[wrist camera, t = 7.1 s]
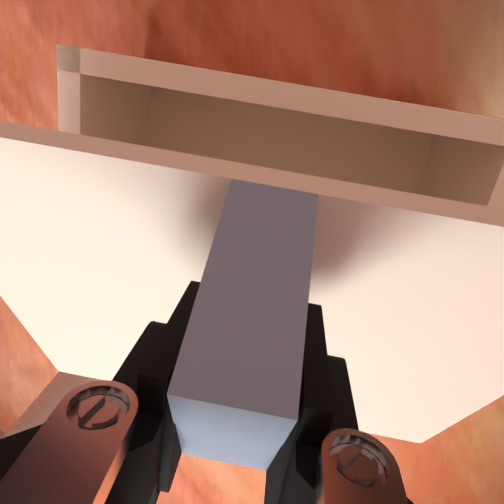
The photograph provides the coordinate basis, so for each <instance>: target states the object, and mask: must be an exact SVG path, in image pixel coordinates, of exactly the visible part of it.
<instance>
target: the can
mask: <svg viewBox="0 0 504 504" xmlns="http://www.w3.org/2000/svg"><path fill="white" fill-rule="evenodd" d="M99 380H100V379H95V378H90V377H85V376H80V375H75V374H70V373H65V372H60V371H59V373H58V374H57V375H56V376H55V377H54V378H53V380H52V381H51V382H50V383H49V384H48V385H47V386H46V388H45V389H44V390H43V391H42V392H41V393H40V395H39V396H38V397H37V398H36V399H35V400H34V402H33V403H32V404H31V405H30V406H29V407H28V409H27V410H26V411H25V412H24V413H23V414H22V416H21V417H20V418H19V419H18V420H17V421H16V423H15V424H14V425H13V426H12V427H11V428H10V429H9V431H8V432H7V433H6V434H5V435H4V437H3V438H5V437H8V436H10V435H13V434H16V433H19V432H21V431H24V430H27V429H30V428H32V427H35V426H38V425H41V424H43V423H44V422H45V421H46V420H47V418H48V417H49V416H50V414H51V413H52V412H53V410H54V409H55V408H56V406H57V405H58V404H59V402H60V401H61V400H62V398H63V397H64V396H65V395H66V394H68V393H69V392H70V391H71V390H73V389H74V388H76V387H78V386H80V385H82V384H85V383H88V382H91V381H99Z"/></svg>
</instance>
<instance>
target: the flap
mask: <svg viewBox="0 0 504 504" xmlns="http://www.w3.org/2000/svg"><path fill="white" fill-rule="evenodd" d="M191 281H197V282H200V286H199V289H198V292H197V295H196V299H195V302H194V305H193V309H192V312H191V315H190V319H189V322H188V325H187V329H186V332H185V335H184V339H183V342H182V345H181V348H180V352H179V355H178V358H177V362H176V365H175V368H174V372H173V375H172V378H171V382H170V385H169V388H168V392H167V398H168V402H169V406H170V410H171V414H172V418H173V422H174V424H176V429H177V433H178V438H179V442H180V447H181V451H182V454H186V455H191V456H196V457H201V458H206V459H211V460H216V461H221V462H226V463H230V464H235V465H240V466H245V467H250V468H255V469H260V470H265V471H267V469H268V467H269V465H270V464H271V462H272V460H273V459H274V457H275V456H276V454H277V452H278V451H279V449H280V447H281V446H282V445H283V444H284V442H285V440H286V439H287V437H288V436H289V434H290V432H291V431H292V429H293V427H294V426H295V424H296V422H297V421H298V411H299V400H300V389H301V378H302V367H303V356H304V345H305V334H306V323H307V312H308V303H312V304H317V305H321V306H322V314H323V322H324V330H325V338H326V346H327V354H328V355H331V356H336V357H341V358H344V359H345V361H346V364H347V370H348V375H349V380H350V385H351V391H352V396H353V401H354V406H355V412H356V417H357V422H358V428H359V431H362V432H366V433H371V434H376V435H381V436H386V437H391V438H396V439H401V440H406V441H411V442H416V443H422V442H424V441H426V440H427V439H429V438H431V437H433V436H434V435H436V434H438V433H440V432H441V431H443V430H445V429H446V428H448V427H450V426H452V425H453V424H455V423H457V422H458V421H460V420H462V419H464V418H465V417H467V416H469V415H470V414H472V413H474V412H476V411H477V410H479V409H481V408H483V407H484V406H486V405H488V404H489V403H491V402H493V401H495V400H496V399H498V398H500V397H501V396H503V395H504V209H499V208H493V207H487V206H482V205H476V204H470V203H465V202H459V201H453V200H448V199H442V198H436V197H431V196H425V195H419V194H414V193H408V192H402V191H397V190H391V189H385V188H380V187H374V186H368V185H363V184H357V183H351V182H346V181H340V180H334V179H329V178H323V177H317V176H312V175H306V174H300V173H295V172H289V171H284V170H278V169H272V168H267V167H261V166H255V165H250V164H244V163H238V162H233V161H227V160H221V159H216V158H210V157H204V156H199V155H193V154H187V153H182V152H176V151H170V150H165V149H159V148H153V147H148V146H142V145H136V144H131V143H125V142H119V141H114V140H108V139H102V138H97V137H91V136H85V135H80V134H74V133H68V132H63V131H57V130H51V129H46V128H40V127H34V126H29V125H23V124H17V123H12V122H6V121H0V296H1V297H2V298H3V300H4V301H5V302H6V303H7V305H8V306H9V307H10V309H11V310H12V311H13V313H14V314H15V315H16V317H17V318H18V319H19V320H20V322H21V323H22V324H23V326H24V327H25V328H26V330H27V331H28V332H29V333H30V335H31V336H32V337H33V339H34V340H35V341H36V343H37V344H38V345H39V346H40V348H41V349H42V350H43V352H44V353H45V354H46V356H47V357H48V358H49V359H50V361H51V362H52V363H53V365H54V366H55V367H56V369H57V370H58V371H60V372H65V373H70V374H75V375H80V376H85V377H90V378H95V379H100V380H109V381H112V379H113V378H114V376H115V375H116V373H117V371H118V370H119V368H120V367H121V365H122V364H123V362H124V361H125V359H126V358H127V356H128V354H129V353H130V351H131V350H132V348H133V347H134V345H135V344H136V342H137V340H138V339H139V337H140V336H141V334H142V333H143V331H144V330H145V328H146V327H147V325H148V324H149V323H150V321H156V322H161V323H166V324H167V322H168V320H169V319H170V317H171V315H172V313H173V312H174V310H175V308H176V306H177V305H178V303H179V301H180V299H181V297H182V296H183V294H184V292H185V290H186V289H187V287H188V285H189V283H190V282H191Z"/></svg>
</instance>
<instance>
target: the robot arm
mask: <svg viewBox="0 0 504 504" xmlns="http://www.w3.org/2000/svg"><path fill="white" fill-rule="evenodd" d="M199 286H200V282H197V281H191V282H190V283H189V285H188V287H187V289H186V290H185V292H184V294H183V296H182V297H181V299H180V301H179V303H178V305H177V306H176V308H175V310H174V312H173V313H172V315H171V317H170V319H169V320H168V322H167V324H166V323H161V322H156V321H150V323H149V324H148V325H147V327H146V328H145V330H144V331H143V333H142V334H141V336H140V337H139V339H138V340H137V342H136V344H135V345H134V347H133V348H132V350H131V351H130V353H129V354H128V356H127V358H126V359H125V361H124V362H123V364H122V365H121V367H120V368H119V370H118V371H117V373H116V375H115V376H114V378H113V379H112V381H109V380H99V381H91V382H88V383H85V384H82V385H80V386H78V387H76V388H74V389H73V390H71V391H70V392H69V393H68V394H66V395H65V396H64V397H63V398H62V400H61V401H60V402H59V404H58V405H57V406H56V408H55V409H54V410H53V412H52V413H51V414H50V416H49V417H48V418H47V420H46V421H45V422H44V423H43V424H41V425H38V426H35V427H32V428H30V429H27V430H24V431H21V432H19V433H16V434H13V435H10V436H8V437H5V438H2V439H0V504H156V502H157V499H158V496H159V493H160V491H163V492H169V490H170V488H171V485H172V481H173V478H174V475H175V472H176V469H177V466H178V463H179V459H180V456H181V453H182V451H181V447H180V442H179V438H178V433H177V429H176V424H174V422H173V418H172V414H171V410H170V406H169V402H168V398H167V392H168V388H169V385H170V382H171V378H172V375H173V372H174V368H175V365H176V362H177V358H178V355H179V352H180V348H181V345H182V342H183V339H184V335H185V332H186V329H187V325H188V322H189V319H190V315H191V312H192V309H193V305H194V302H195V299H196V295H197V292H198V289H199ZM264 504H414V503H413V502H411V501H410V500H409V499H408V498H407V497H406V493H405V489H404V485H403V482H402V478H401V474H400V470H399V467H398V465H397V462H396V460H395V458H394V456H393V455H392V454H391V452H390V451H389V450H388V448H387V447H386V446H385V445H383V444H382V443H381V442H380V441H379V440H378V439H376V438H374V437H373V436H371V435H369V434H367V433H365V432H362V431H359V428H358V422H357V417H356V412H355V406H354V401H353V396H352V391H351V385H350V380H349V375H348V370H347V364H346V361H345V359H344V358H341V357H336V356H331V355H328V354H327V346H326V338H325V330H324V322H323V314H322V306H321V305H317V304H312V303H308V312H307V323H306V334H305V345H304V356H303V367H302V378H301V389H300V400H299V411H298V421H297V422H296V424H295V426H294V427H293V429H292V431H291V432H290V434H289V436H288V437H287V439H286V440H285V442H284V444H283V445H282V446H281V447H280V449H279V451H278V452H277V454H276V456H275V457H274V459H273V460H272V462H271V464H270V465H269V467H268V469H267V473H266V486H265V499H264Z"/></svg>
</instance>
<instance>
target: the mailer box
mask: <svg viewBox="0 0 504 504" xmlns="http://www.w3.org/2000/svg"><path fill="white" fill-rule="evenodd" d="M56 45H57V85H58V125H59V131H63V132H68V133H74V134H80V135H85V136H91V137H97V138H102V139H108V140H114V141H119V142H125V143H131V144H136V145H142V146H148V147H153V148H159V149H165V150H170V151H176V152H182V153H187V154H193V155H199V156H204V157H210V158H216V159H221V160H227V161H233V162H238V163H244V164H250V165H255V166H261V167H267V168H272V169H278V170H284V171H289V172H295V173H300V174H306V175H312V176H317V177H323V178H329V179H334V180H340V181H346V182H351V183H357V184H363V185H368V186H374V187H380V188H385V189H391V190H397V191H402V192H408V193H414V194H419V195H425V196H431V197H436V198H442V199H448V200H453V201H459V202H465V203H470V204H476V205H482V206H487V207H493V208H499V209H504V119H502V118H496V117H490V116H484V115H478V114H472V113H466V112H460V111H455V110H449V109H443V108H437V107H431V106H425V105H419V104H413V103H407V102H401V101H395V100H389V99H383V98H377V97H371V96H365V95H359V94H353V93H347V92H342V91H336V90H330V89H324V88H318V87H312V86H306V85H300V84H294V83H288V82H282V81H276V80H270V79H264V78H258V77H252V76H246V75H240V74H235V73H229V72H223V71H217V70H211V69H205V68H199V67H193V66H187V65H181V64H175V63H169V62H163V61H157V60H151V59H145V58H139V57H133V56H128V55H122V54H116V53H110V52H104V51H98V50H92V49H86V48H80V47H74V46H68V45H62V44H56Z"/></svg>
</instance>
